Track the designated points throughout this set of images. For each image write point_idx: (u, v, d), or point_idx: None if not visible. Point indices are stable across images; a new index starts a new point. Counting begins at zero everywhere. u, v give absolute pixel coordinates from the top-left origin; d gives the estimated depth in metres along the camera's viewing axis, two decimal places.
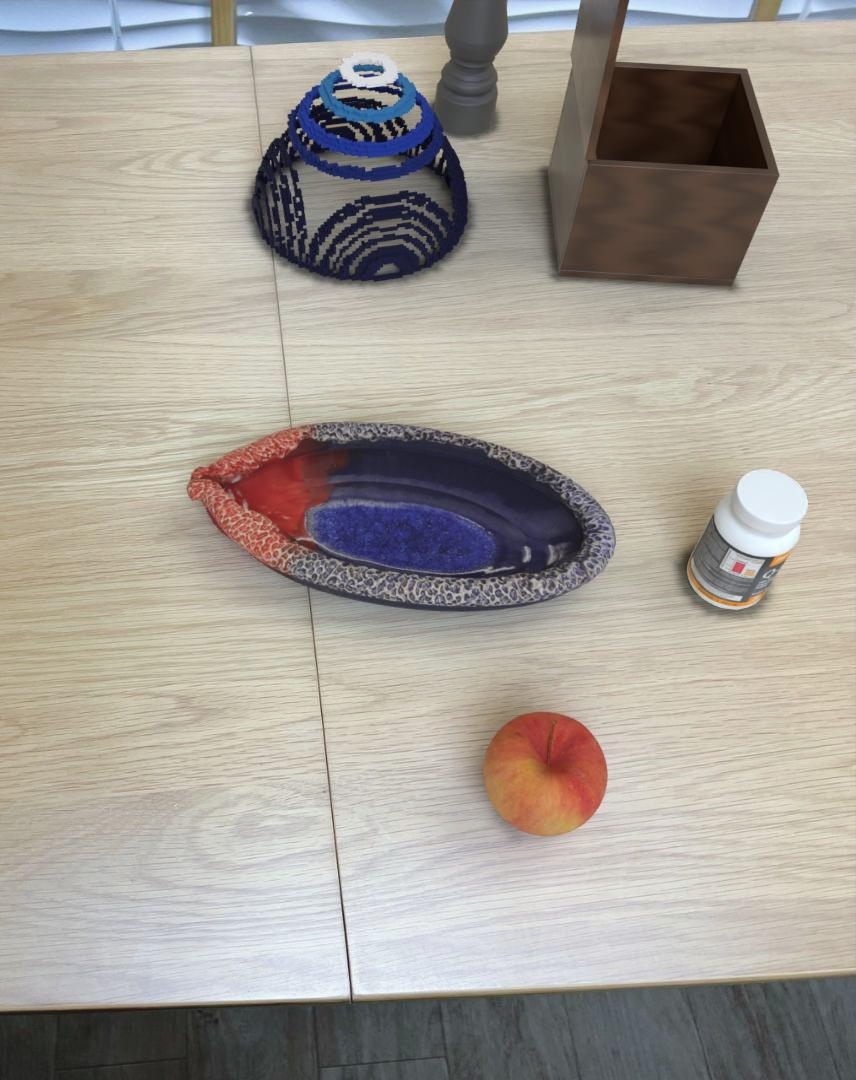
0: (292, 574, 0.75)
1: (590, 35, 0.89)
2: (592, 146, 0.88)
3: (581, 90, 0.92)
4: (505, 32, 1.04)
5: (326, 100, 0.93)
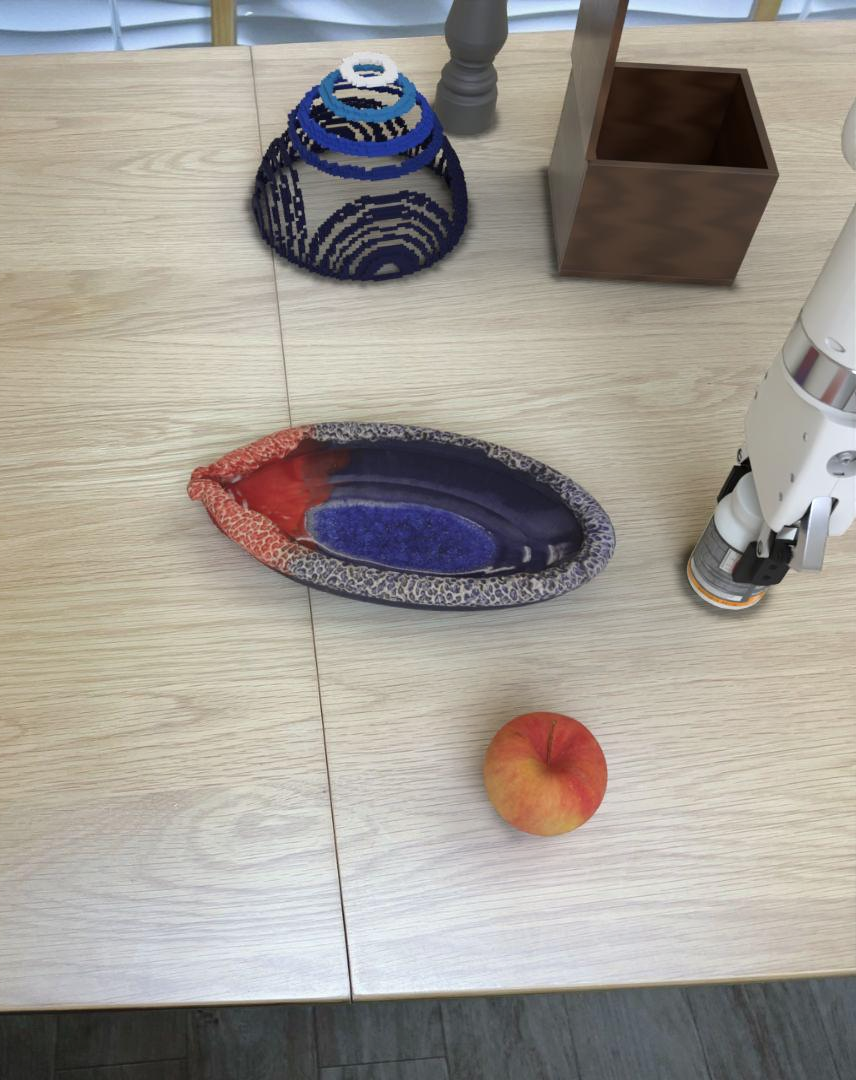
0: (292, 574, 0.75)
1: (590, 35, 0.89)
2: (592, 146, 0.88)
3: (581, 90, 0.92)
4: (505, 32, 1.04)
5: (326, 100, 0.93)
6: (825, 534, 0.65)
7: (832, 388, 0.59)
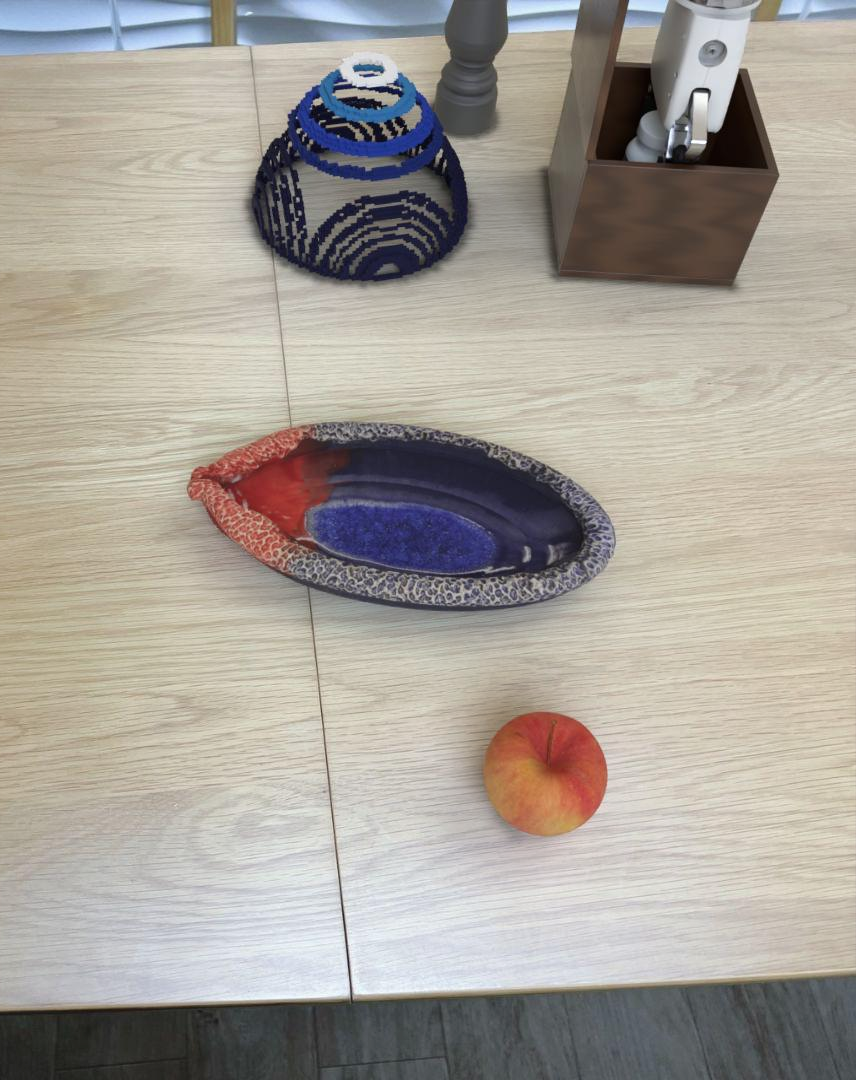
0: (292, 574, 0.75)
1: (590, 35, 0.89)
2: (592, 146, 0.88)
3: (581, 90, 0.92)
4: (505, 32, 1.04)
5: (326, 100, 0.93)
6: (706, 115, 0.86)
7: None
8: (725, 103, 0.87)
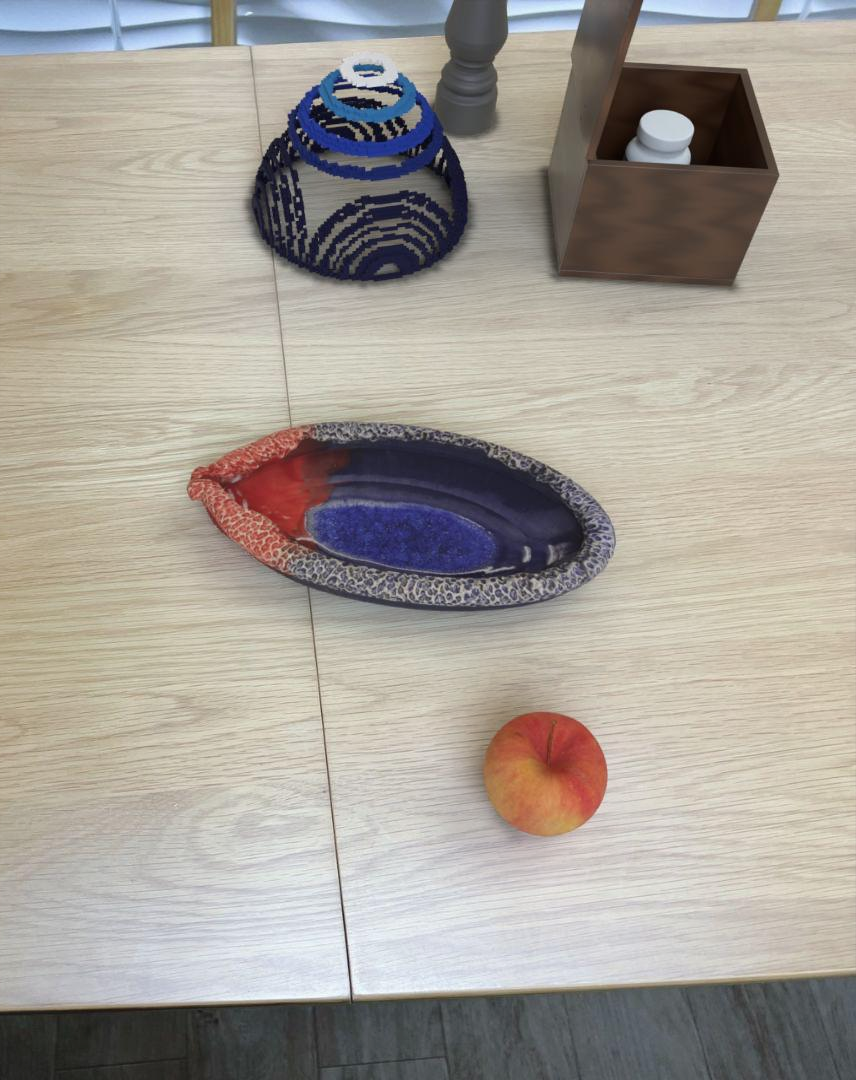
0: (292, 574, 0.75)
1: (596, 35, 0.89)
2: (593, 146, 0.88)
3: (583, 90, 0.92)
4: (505, 32, 1.04)
5: (326, 100, 0.93)
6: None
7: None
8: None
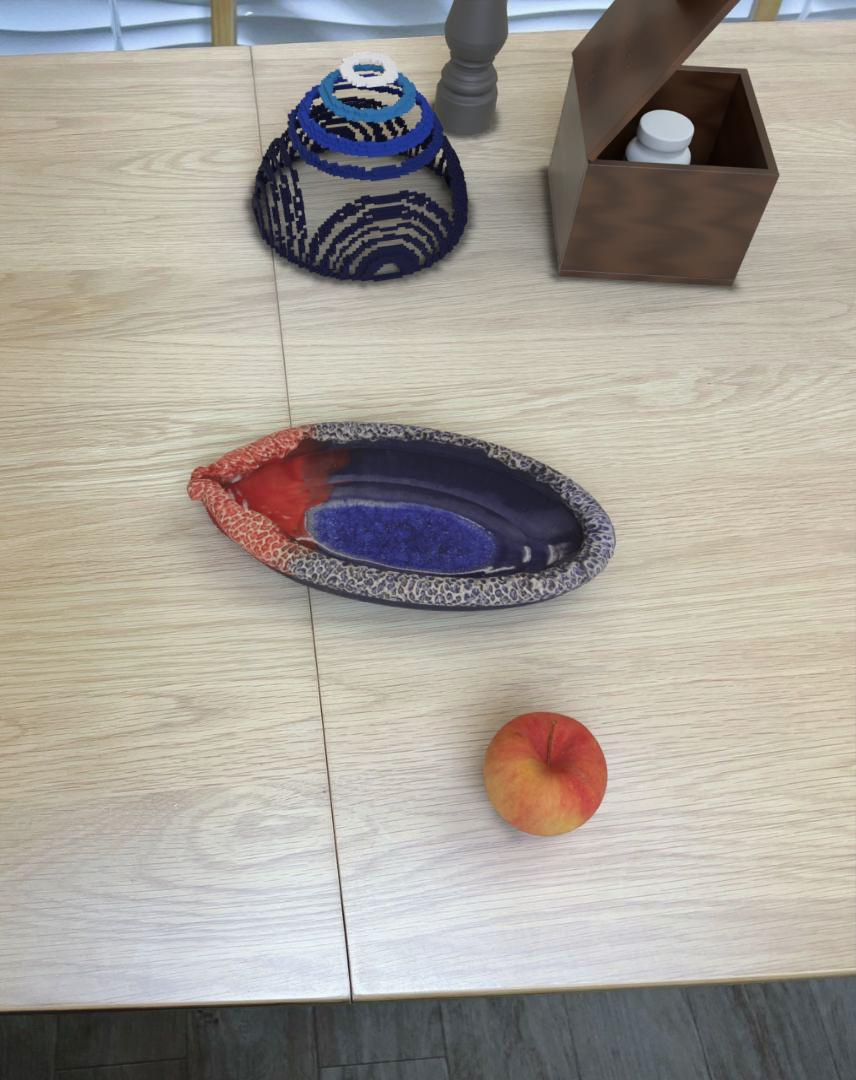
0: (292, 574, 0.75)
1: (626, 43, 0.89)
2: (599, 148, 0.88)
3: (591, 91, 0.92)
4: (505, 32, 1.04)
5: (326, 100, 0.93)
6: None
7: None
8: None
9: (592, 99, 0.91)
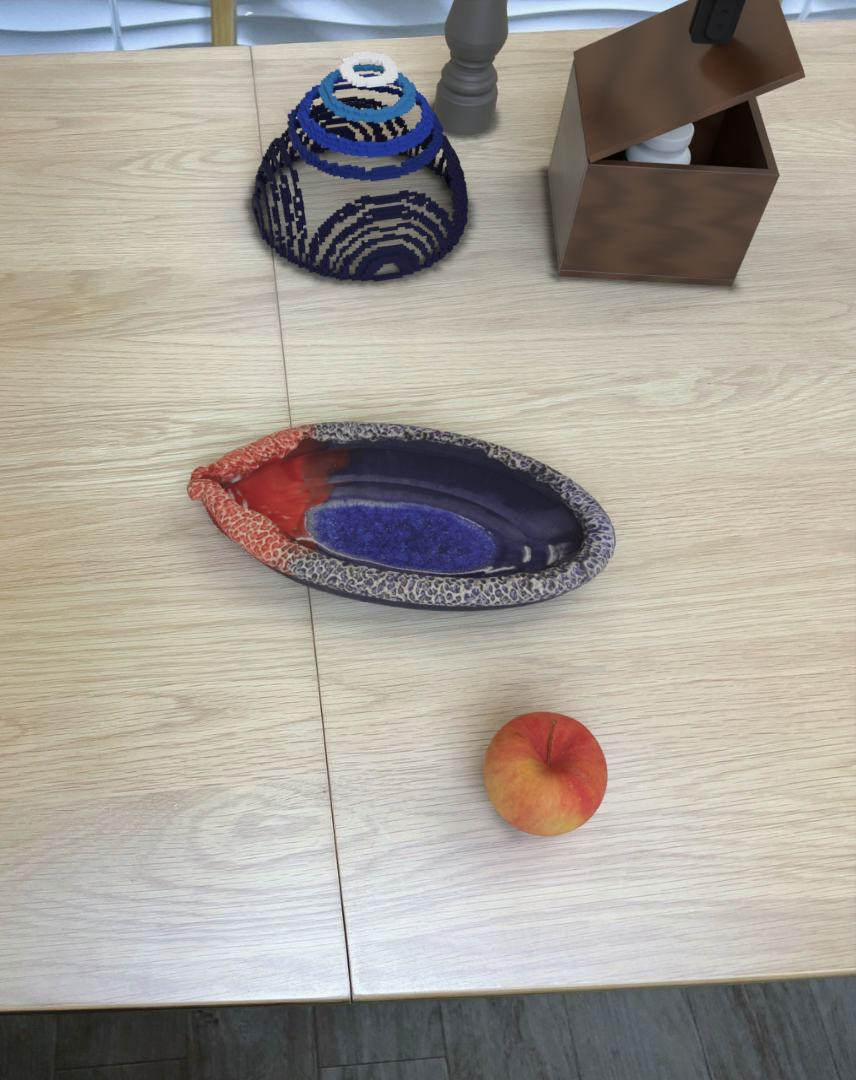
0: (292, 574, 0.75)
1: (649, 69, 0.91)
2: (604, 154, 0.88)
3: (599, 97, 0.92)
4: (505, 32, 1.04)
5: (326, 100, 0.93)
6: None
7: None
8: None
9: (600, 104, 0.92)
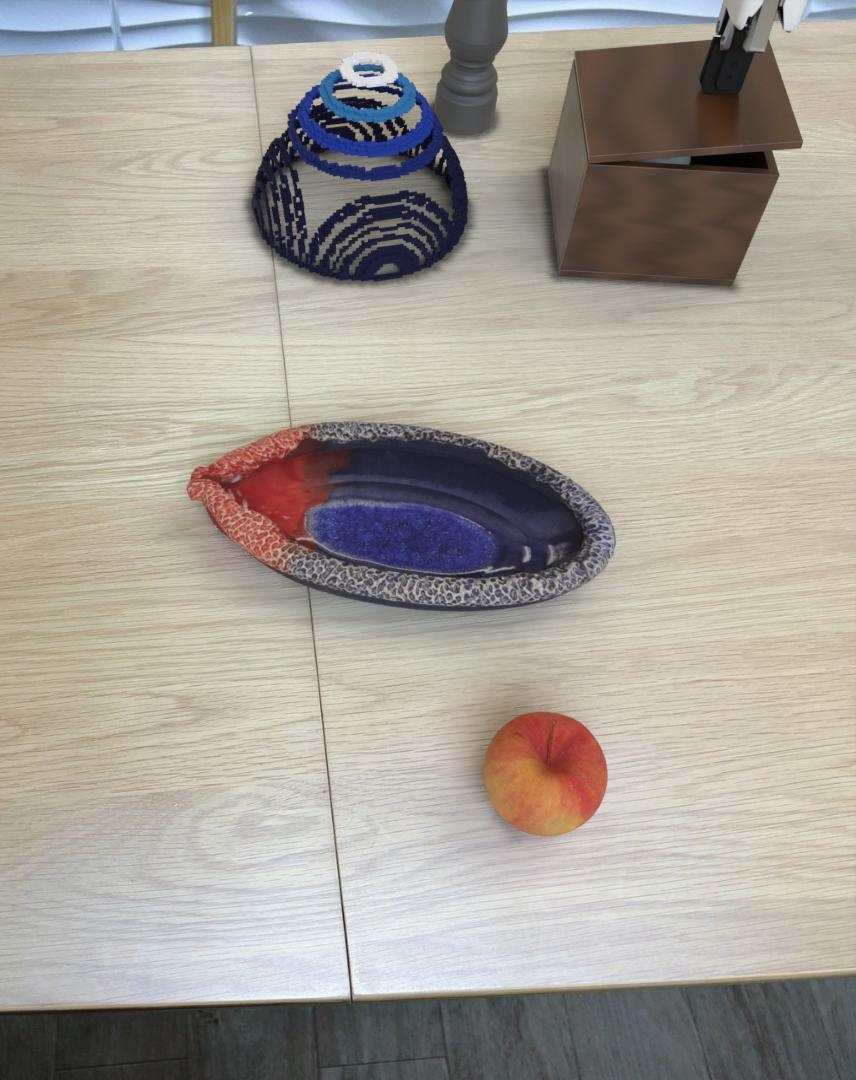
0: (292, 574, 0.75)
1: (653, 93, 0.93)
2: (605, 159, 0.89)
3: (602, 103, 0.93)
4: (505, 32, 1.04)
5: (326, 100, 0.93)
6: (772, 20, 0.82)
7: None
8: None
9: (602, 110, 0.92)
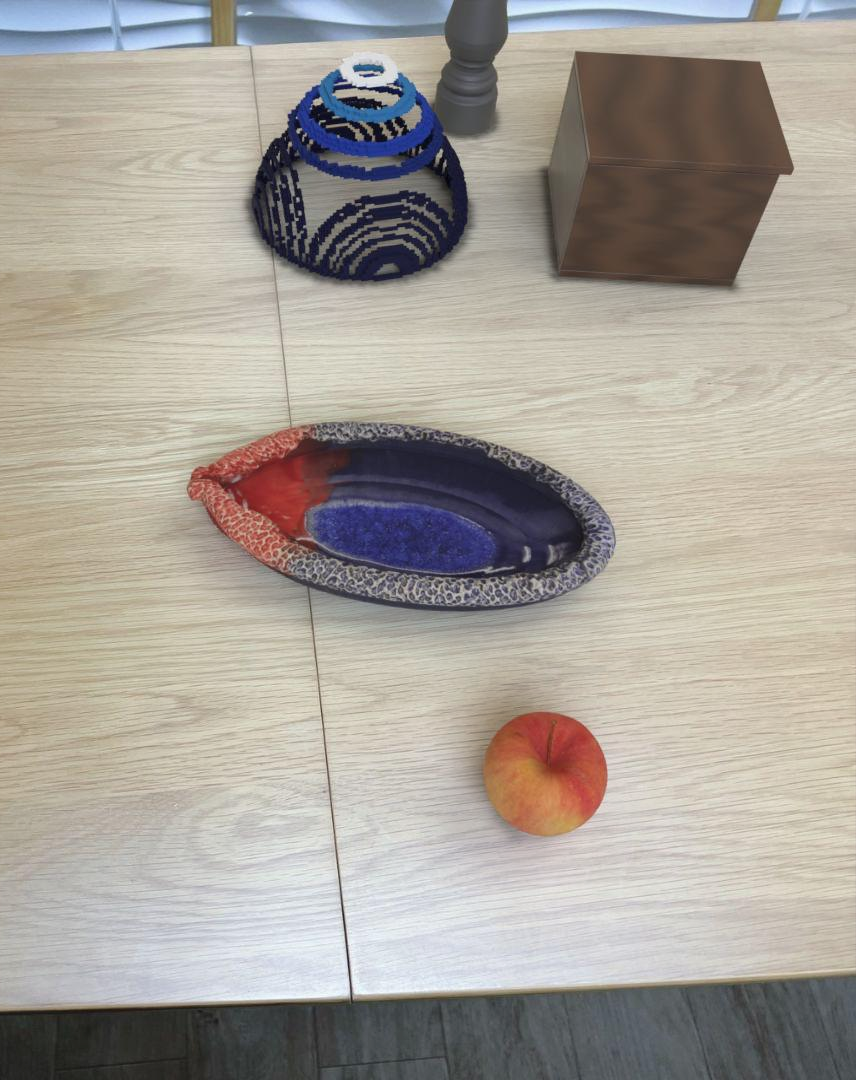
0: (292, 574, 0.75)
1: (652, 102, 0.93)
2: (604, 161, 0.89)
3: (602, 105, 0.93)
4: (505, 32, 1.04)
5: (326, 100, 0.93)
6: None
7: None
8: None
9: (602, 113, 0.92)
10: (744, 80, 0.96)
